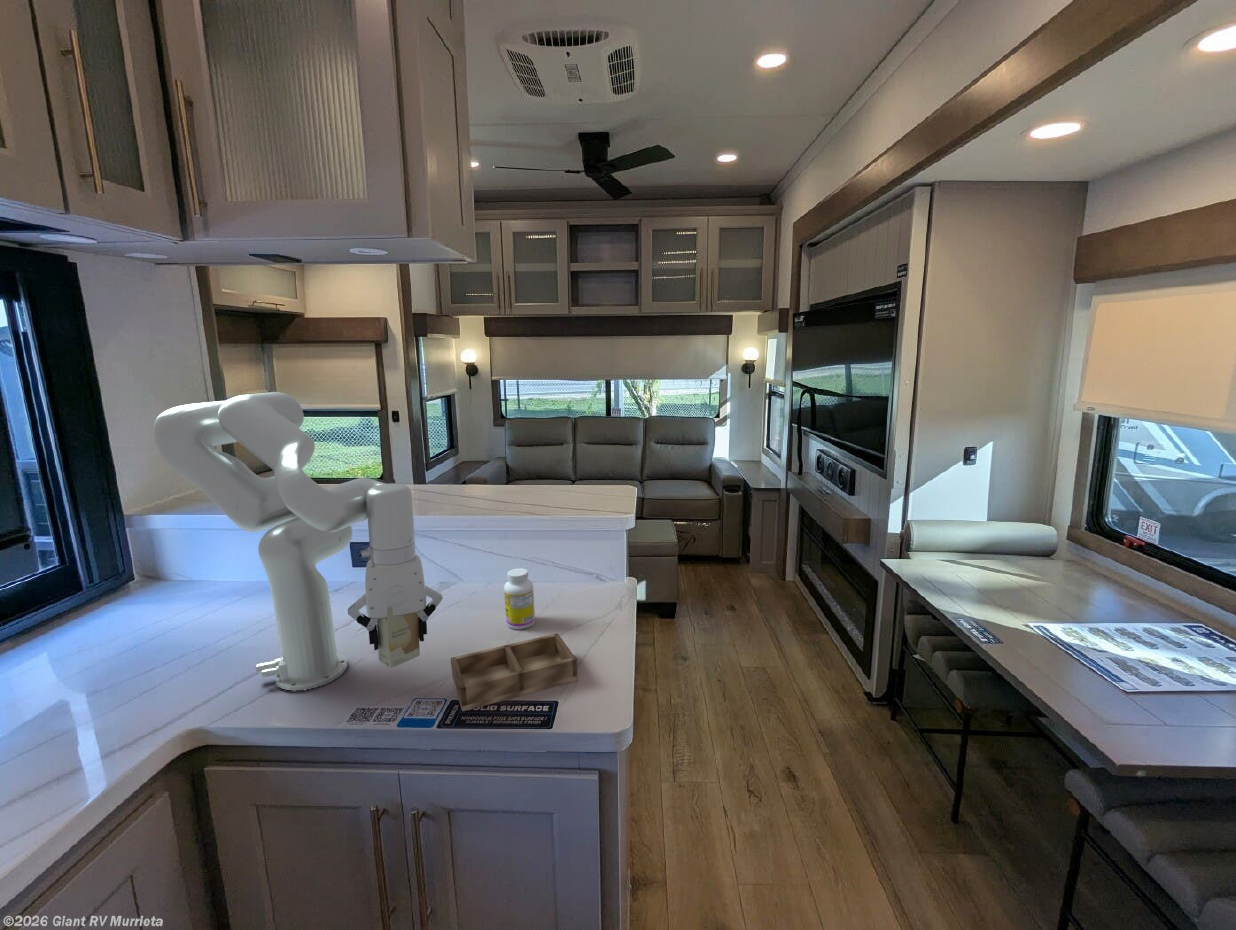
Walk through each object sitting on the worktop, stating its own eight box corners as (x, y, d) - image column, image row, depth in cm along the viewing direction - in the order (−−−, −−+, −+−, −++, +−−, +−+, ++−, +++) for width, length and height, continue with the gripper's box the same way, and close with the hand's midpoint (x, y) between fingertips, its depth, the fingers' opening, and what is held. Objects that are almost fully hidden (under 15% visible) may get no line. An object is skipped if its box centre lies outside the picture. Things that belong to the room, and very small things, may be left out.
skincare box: (391, 669, 103) (386, 607, 100) (377, 661, 105) (373, 600, 103) (422, 655, 108) (418, 595, 105) (408, 647, 110) (405, 588, 108)
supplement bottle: (509, 617, 136) (506, 566, 133) (537, 616, 135) (534, 566, 133) (503, 630, 129) (499, 577, 127) (532, 630, 129) (529, 577, 126)
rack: (462, 711, 100) (460, 688, 99) (452, 678, 110) (450, 657, 110) (577, 680, 109) (576, 659, 108) (558, 652, 119) (557, 633, 118)
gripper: (338, 567, 95) (347, 662, 99) (446, 553, 102) (450, 642, 106) (339, 552, 102) (347, 641, 106) (440, 540, 109) (444, 624, 113)
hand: (399, 641), depth 106 cm, fingers closed on skincare box, 7 cm apart
